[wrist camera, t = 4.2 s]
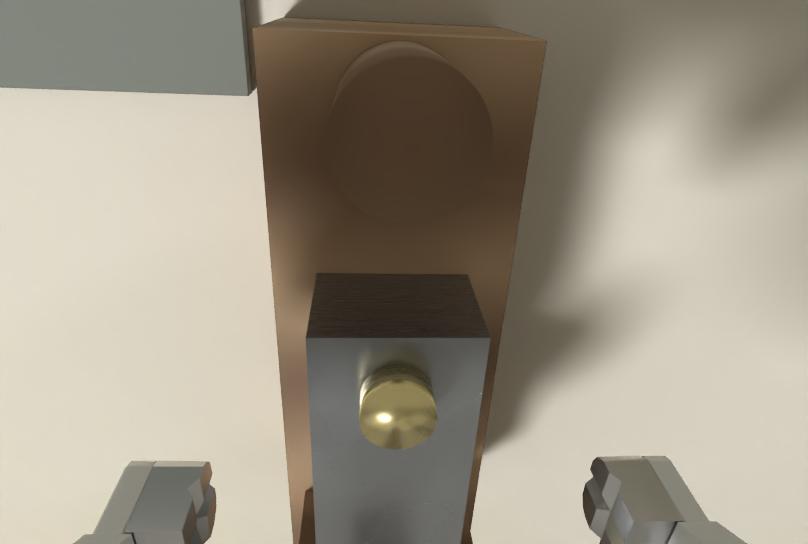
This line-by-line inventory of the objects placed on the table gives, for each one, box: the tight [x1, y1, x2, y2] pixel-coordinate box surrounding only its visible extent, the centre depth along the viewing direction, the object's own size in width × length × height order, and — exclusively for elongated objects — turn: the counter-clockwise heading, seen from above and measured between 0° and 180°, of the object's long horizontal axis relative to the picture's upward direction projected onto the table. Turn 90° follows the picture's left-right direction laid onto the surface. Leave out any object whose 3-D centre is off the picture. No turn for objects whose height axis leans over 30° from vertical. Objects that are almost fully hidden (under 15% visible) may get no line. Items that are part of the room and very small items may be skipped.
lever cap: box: [306, 273, 491, 544], centre depth 13 cm, size 7×4×4 cm, turn 177°
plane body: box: [252, 18, 547, 544], centre depth 14 cm, size 18×6×12 cm, turn 177°
